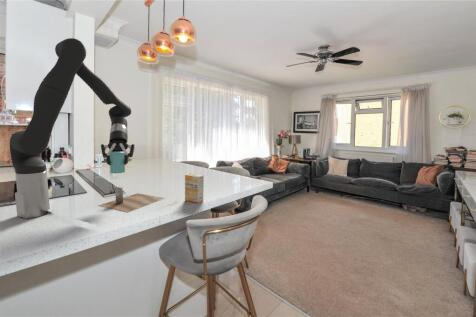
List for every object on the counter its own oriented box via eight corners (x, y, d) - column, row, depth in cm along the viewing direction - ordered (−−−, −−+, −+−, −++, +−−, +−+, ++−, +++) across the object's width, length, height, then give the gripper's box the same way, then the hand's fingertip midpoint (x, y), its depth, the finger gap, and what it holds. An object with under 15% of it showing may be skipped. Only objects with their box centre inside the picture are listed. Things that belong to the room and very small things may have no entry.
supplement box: (184, 200, 115) (184, 174, 114) (190, 198, 120) (190, 173, 118) (197, 203, 111) (197, 176, 110) (203, 200, 116) (203, 174, 114)
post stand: (127, 216, 94) (126, 195, 93) (97, 208, 101) (96, 189, 100) (165, 201, 114) (164, 184, 113) (137, 195, 121) (137, 179, 120)
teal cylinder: (116, 173, 100) (115, 152, 98) (107, 172, 102) (106, 152, 101) (128, 171, 105) (127, 151, 104) (119, 170, 107) (118, 150, 106)
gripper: (100, 129, 105) (96, 159, 96) (135, 130, 111) (135, 158, 101) (102, 140, 111) (99, 169, 101) (135, 140, 116) (135, 168, 107)
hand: (117, 163), depth 101 cm, fingers closed on teal cylinder, 5 cm apart
